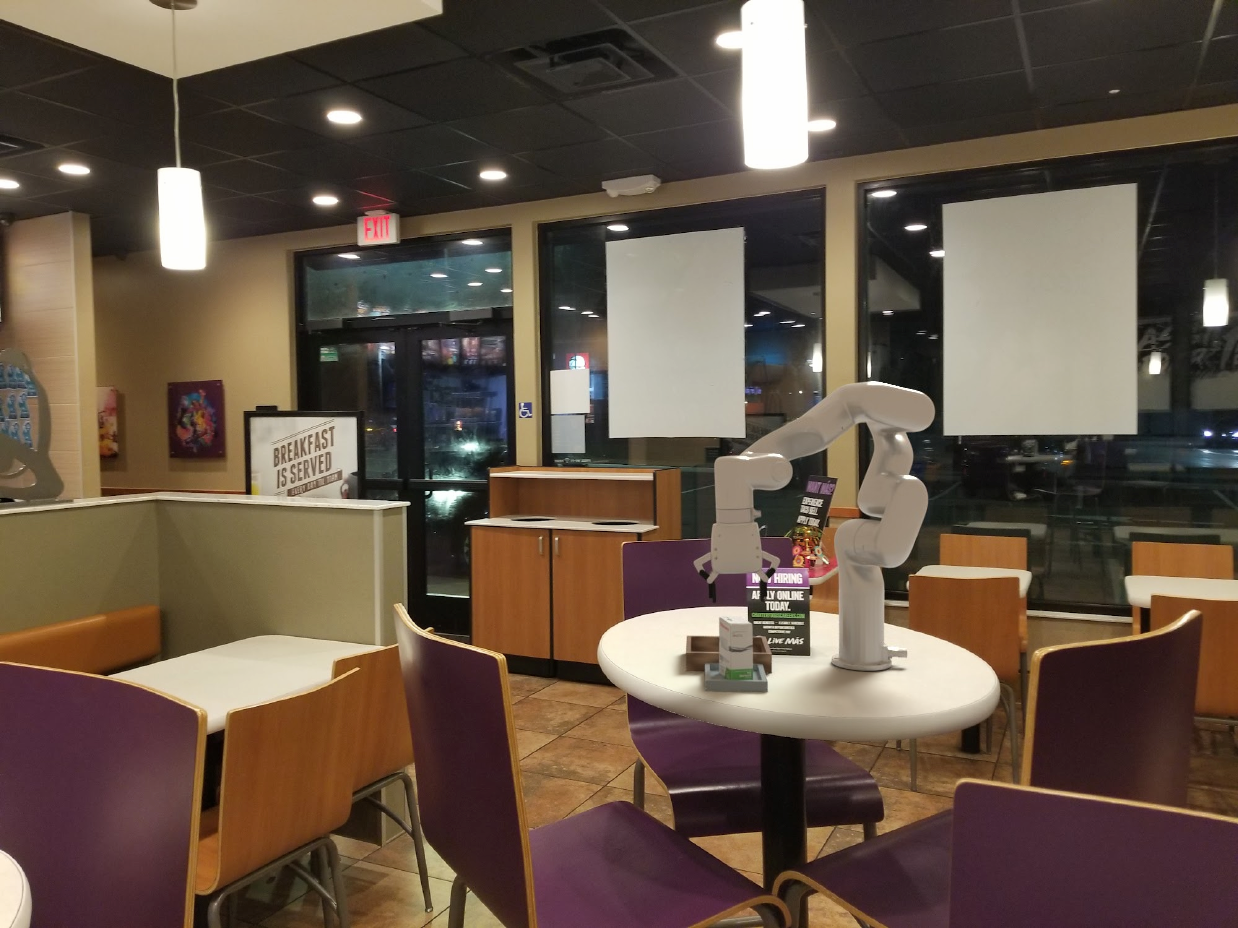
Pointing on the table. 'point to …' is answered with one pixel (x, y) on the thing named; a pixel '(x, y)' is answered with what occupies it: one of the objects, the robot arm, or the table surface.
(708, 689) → the tray
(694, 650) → the crate
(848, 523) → the robot arm
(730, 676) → the ink box
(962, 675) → the table surface
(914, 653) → the table surface
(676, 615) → the table surface
